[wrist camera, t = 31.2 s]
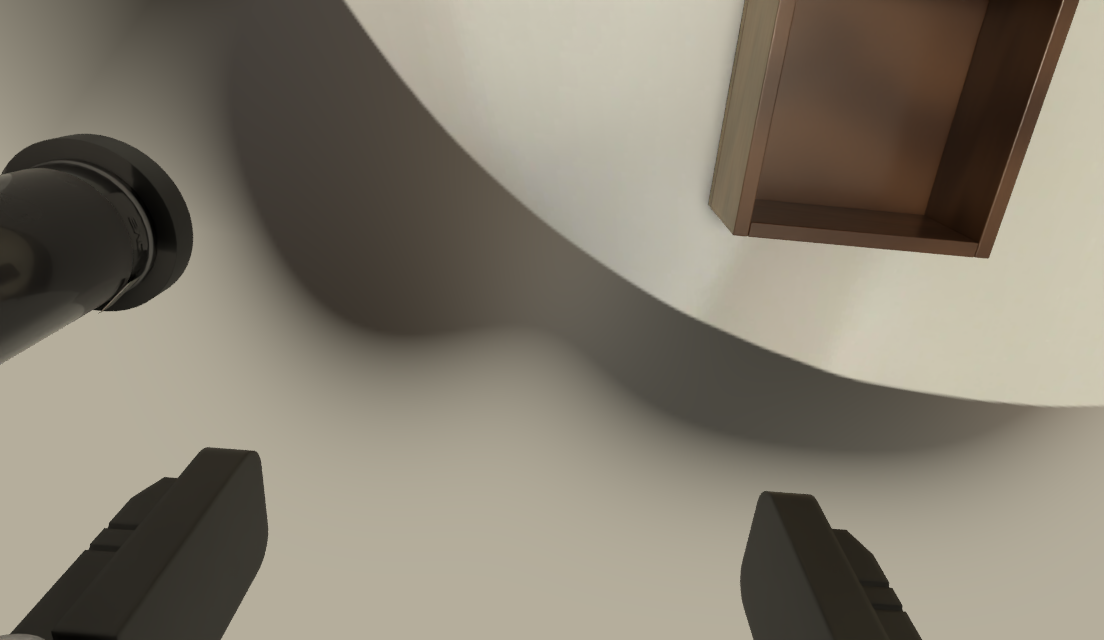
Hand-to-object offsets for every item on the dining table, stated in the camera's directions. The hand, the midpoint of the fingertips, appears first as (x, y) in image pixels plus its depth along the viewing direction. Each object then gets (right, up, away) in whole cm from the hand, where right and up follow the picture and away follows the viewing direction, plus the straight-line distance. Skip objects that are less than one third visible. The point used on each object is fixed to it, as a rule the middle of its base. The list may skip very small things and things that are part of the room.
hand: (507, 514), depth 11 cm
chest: (+18, +16, +29) cm, 37 cm away
